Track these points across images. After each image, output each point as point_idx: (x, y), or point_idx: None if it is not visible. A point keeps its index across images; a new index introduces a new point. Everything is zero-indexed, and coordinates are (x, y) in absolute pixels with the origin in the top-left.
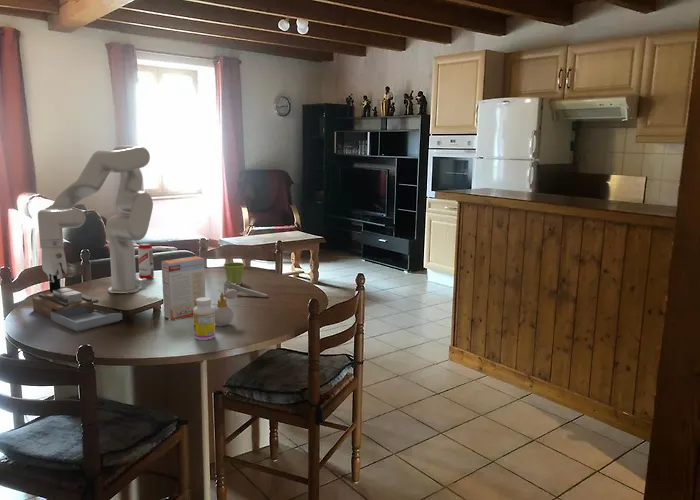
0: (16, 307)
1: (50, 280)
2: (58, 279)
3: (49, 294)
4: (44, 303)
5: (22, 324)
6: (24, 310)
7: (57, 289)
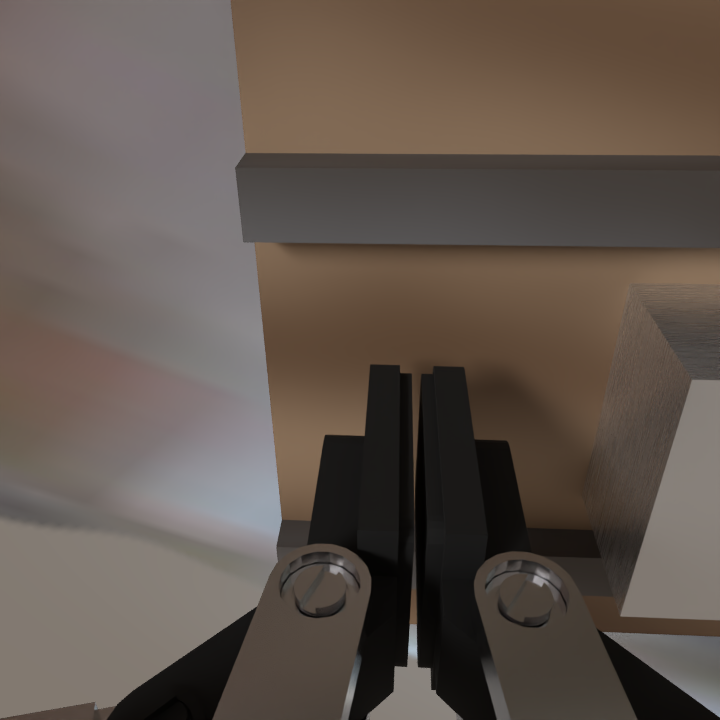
0: (63, 525)
1: (366, 708)
2: (644, 705)
3: (295, 439)
4: (669, 620)
5: (674, 674)
6: (236, 524)
7: (648, 555)
